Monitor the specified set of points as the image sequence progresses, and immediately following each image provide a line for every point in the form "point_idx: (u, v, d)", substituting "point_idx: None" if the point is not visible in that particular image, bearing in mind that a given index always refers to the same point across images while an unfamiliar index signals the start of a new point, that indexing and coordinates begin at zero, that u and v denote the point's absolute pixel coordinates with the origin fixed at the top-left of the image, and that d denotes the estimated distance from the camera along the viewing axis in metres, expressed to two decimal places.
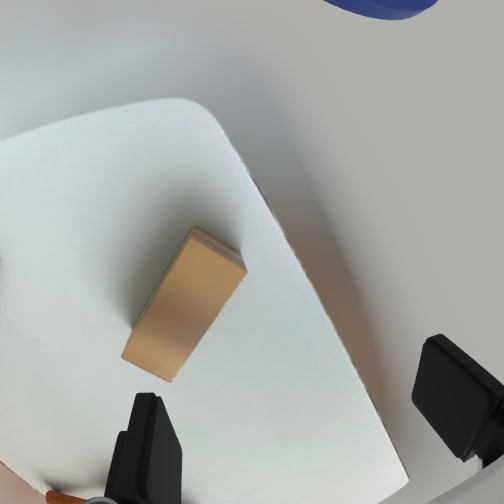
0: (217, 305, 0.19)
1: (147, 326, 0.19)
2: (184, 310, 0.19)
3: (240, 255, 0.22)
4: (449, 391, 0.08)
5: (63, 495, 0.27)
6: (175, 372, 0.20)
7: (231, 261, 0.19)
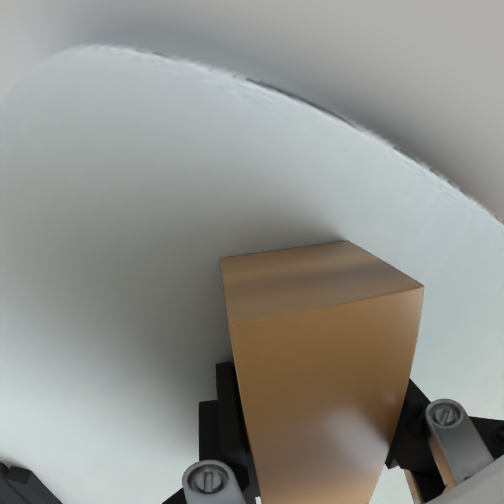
0: (394, 394, 0.06)
1: (278, 497, 0.07)
2: (332, 446, 0.07)
3: (353, 245, 0.09)
4: None
5: None
6: (367, 499, 0.08)
7: (374, 293, 0.06)
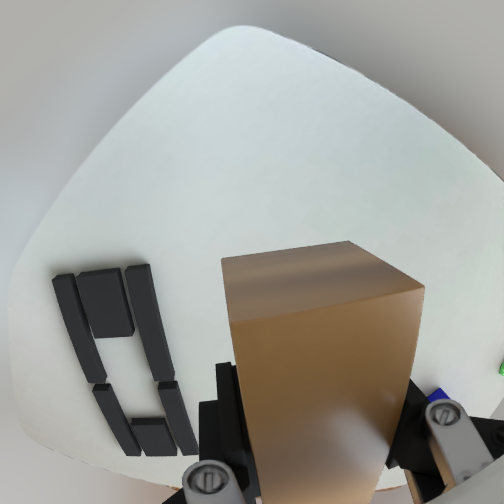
0: (395, 394, 0.06)
1: (278, 497, 0.07)
2: (333, 446, 0.07)
3: (353, 246, 0.09)
4: None
5: None
6: (368, 499, 0.08)
7: (375, 293, 0.06)
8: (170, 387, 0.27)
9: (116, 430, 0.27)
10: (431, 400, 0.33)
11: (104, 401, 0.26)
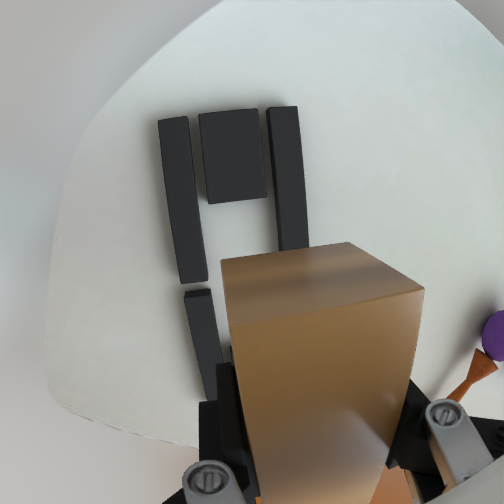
0: (394, 395, 0.06)
1: (278, 498, 0.07)
2: (332, 447, 0.07)
3: (353, 247, 0.09)
4: None
5: None
6: (367, 500, 0.08)
7: (375, 295, 0.06)
8: None
9: (206, 366, 0.23)
10: None
11: (200, 315, 0.22)
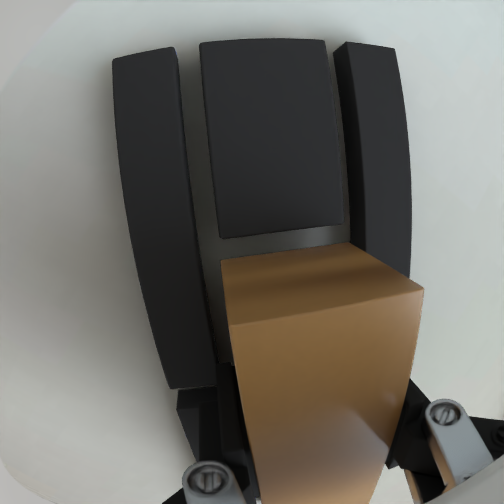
0: (394, 395, 0.06)
1: (278, 498, 0.07)
2: (332, 447, 0.07)
3: (353, 247, 0.09)
4: None
5: None
6: (367, 500, 0.08)
7: (374, 295, 0.06)
8: None
9: None
10: None
11: None
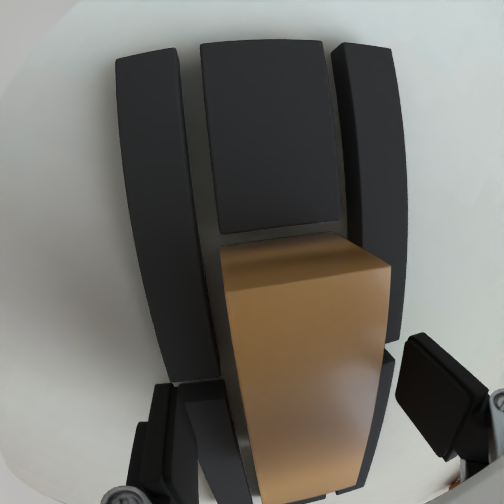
0: (371, 364, 0.08)
1: (270, 465, 0.08)
2: (317, 412, 0.08)
3: (335, 235, 0.10)
4: (430, 390, 0.08)
5: None
6: (355, 474, 0.09)
7: (347, 270, 0.07)
8: None
9: (219, 480, 0.12)
10: None
11: (207, 425, 0.11)
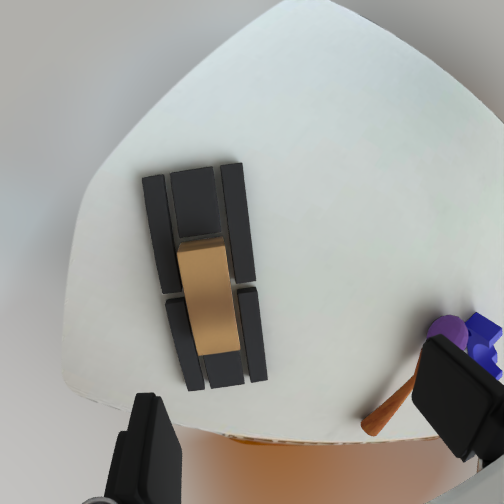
0: (225, 279, 0.26)
1: (196, 323, 0.27)
2: (209, 296, 0.26)
3: (221, 237, 0.29)
4: (449, 391, 0.08)
5: (378, 408, 0.36)
6: (237, 340, 0.28)
7: (210, 247, 0.25)
8: (250, 291, 0.30)
9: (183, 355, 0.30)
10: (471, 323, 0.36)
11: (177, 316, 0.29)
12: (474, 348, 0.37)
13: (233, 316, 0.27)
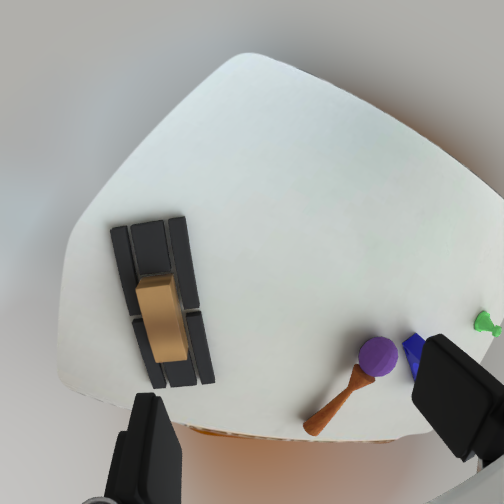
0: (171, 308, 0.34)
1: (152, 339, 0.34)
2: (160, 320, 0.34)
3: (171, 274, 0.36)
4: (449, 391, 0.08)
5: (317, 412, 0.44)
6: (183, 352, 0.35)
7: (159, 285, 0.33)
8: (196, 315, 0.38)
9: (148, 361, 0.38)
10: (409, 343, 0.44)
11: (141, 332, 0.37)
12: (414, 365, 0.45)
13: (179, 335, 0.35)
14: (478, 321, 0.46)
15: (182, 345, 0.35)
